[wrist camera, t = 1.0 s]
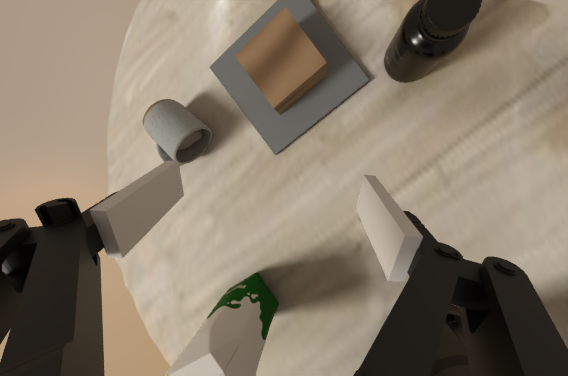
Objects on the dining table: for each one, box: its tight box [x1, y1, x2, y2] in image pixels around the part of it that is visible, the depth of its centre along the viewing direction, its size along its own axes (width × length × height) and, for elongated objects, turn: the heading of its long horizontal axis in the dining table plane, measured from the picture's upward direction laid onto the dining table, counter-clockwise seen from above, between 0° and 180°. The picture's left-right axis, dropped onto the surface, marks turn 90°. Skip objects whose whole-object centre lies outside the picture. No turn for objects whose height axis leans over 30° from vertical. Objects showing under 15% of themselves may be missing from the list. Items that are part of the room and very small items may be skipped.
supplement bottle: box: [384, 0, 482, 83], centre depth 27 cm, size 7×7×12 cm
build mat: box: [210, 0, 369, 155], centre depth 35 cm, size 18×18×1 cm
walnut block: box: [235, 7, 327, 115], centre depth 32 cm, size 9×9×5 cm
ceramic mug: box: [143, 99, 212, 166], centre depth 36 cm, size 11×8×8 cm
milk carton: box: [165, 273, 279, 376], centre depth 32 cm, size 9×9×20 cm
